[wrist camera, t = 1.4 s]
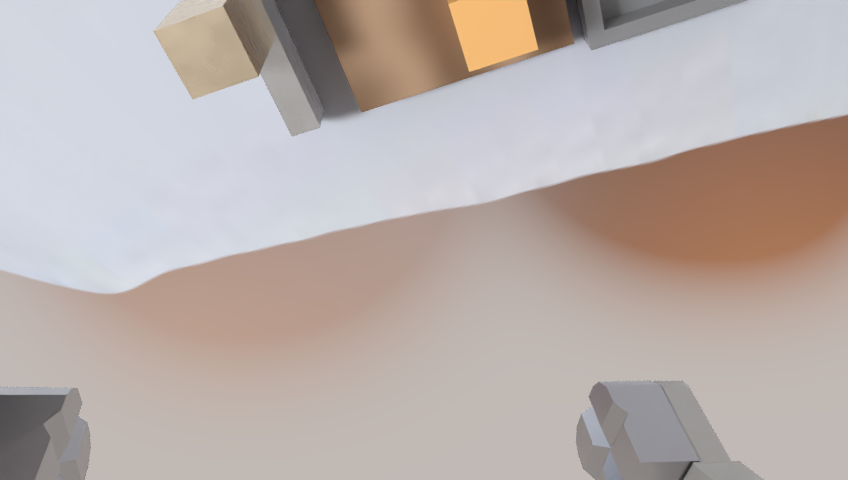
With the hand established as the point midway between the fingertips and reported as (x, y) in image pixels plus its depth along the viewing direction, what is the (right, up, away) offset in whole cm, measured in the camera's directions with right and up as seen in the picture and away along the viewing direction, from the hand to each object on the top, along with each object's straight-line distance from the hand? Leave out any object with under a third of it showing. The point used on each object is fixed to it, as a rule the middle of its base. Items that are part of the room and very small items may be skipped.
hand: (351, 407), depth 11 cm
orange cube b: (+5, +17, +29) cm, 34 cm away
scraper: (-11, +17, +31) cm, 37 cm away
